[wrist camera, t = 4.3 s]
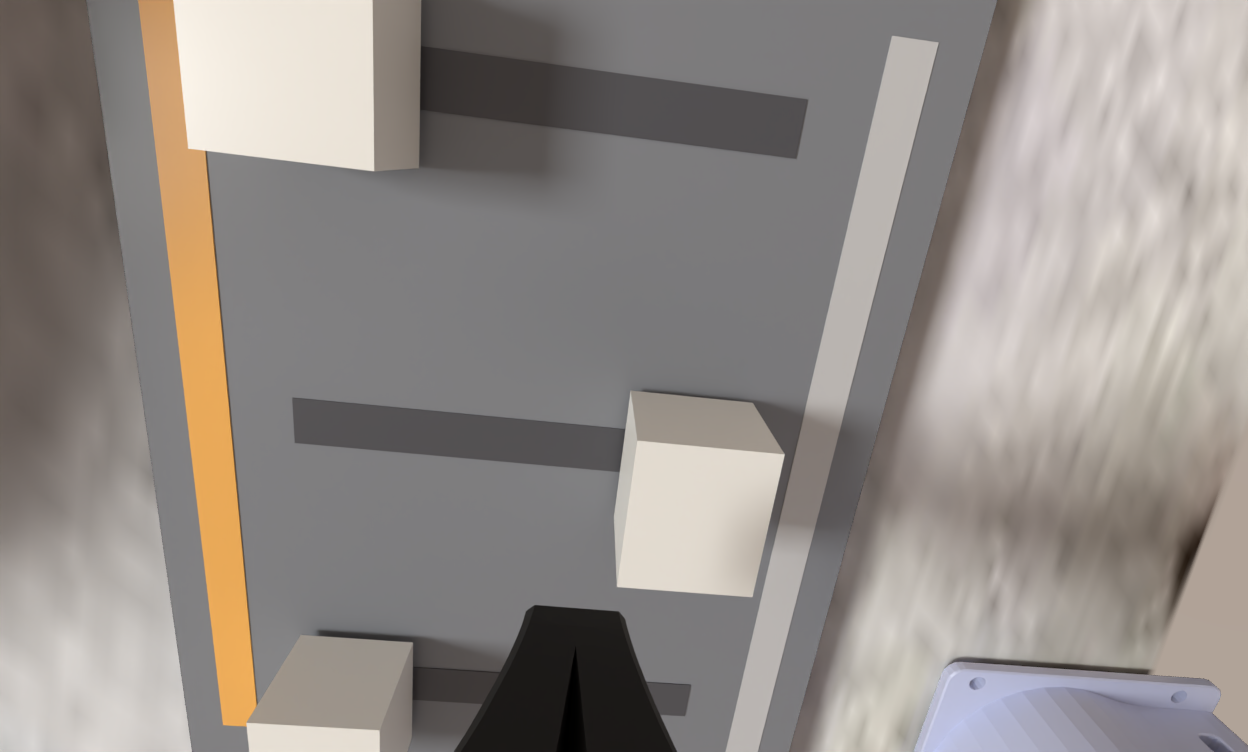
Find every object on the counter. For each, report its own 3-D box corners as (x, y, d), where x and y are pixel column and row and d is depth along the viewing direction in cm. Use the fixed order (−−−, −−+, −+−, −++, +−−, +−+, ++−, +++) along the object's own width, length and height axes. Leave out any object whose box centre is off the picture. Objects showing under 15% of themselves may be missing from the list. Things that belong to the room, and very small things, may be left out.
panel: (968, -27, 14) (1011, -48, 13) (765, 754, 22) (776, 797, 20) (118, -160, 13) (56, -201, 11) (222, 723, 20) (193, 767, 19)
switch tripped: (752, 402, 15) (785, 454, 13) (727, 526, 16) (752, 597, 14) (630, 390, 15) (637, 440, 12) (614, 516, 16) (616, 586, 14)
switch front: (421, -23, 12) (371, -72, 9) (418, 168, 13) (374, 171, 11) (260, -46, 12) (162, -104, 9) (271, 149, 13) (187, 148, 10)
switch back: (413, 642, 17) (379, 730, 15) (412, 737, 18) (380, 834, 16) (300, 634, 17) (246, 722, 14) (306, 731, 18) (257, 829, 16)
